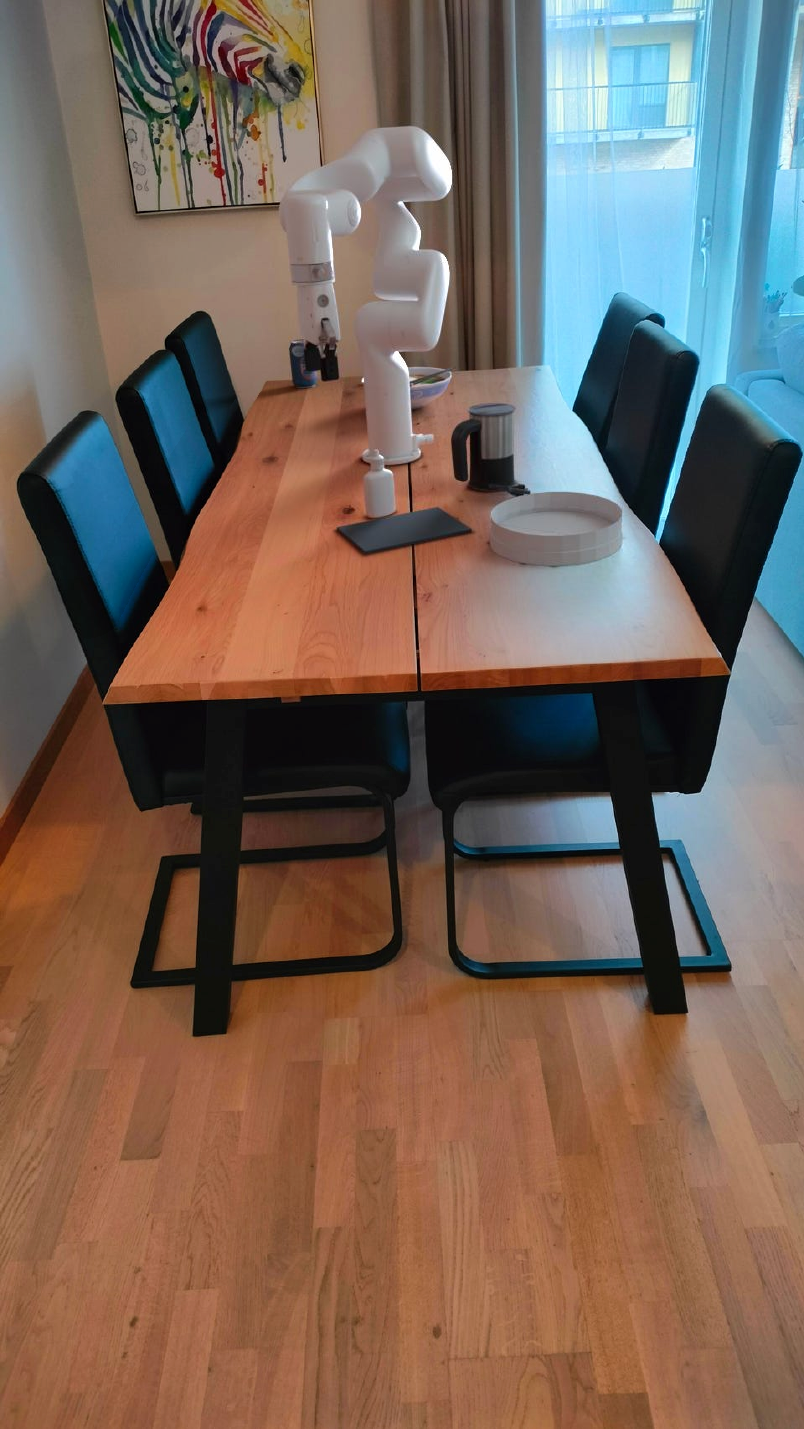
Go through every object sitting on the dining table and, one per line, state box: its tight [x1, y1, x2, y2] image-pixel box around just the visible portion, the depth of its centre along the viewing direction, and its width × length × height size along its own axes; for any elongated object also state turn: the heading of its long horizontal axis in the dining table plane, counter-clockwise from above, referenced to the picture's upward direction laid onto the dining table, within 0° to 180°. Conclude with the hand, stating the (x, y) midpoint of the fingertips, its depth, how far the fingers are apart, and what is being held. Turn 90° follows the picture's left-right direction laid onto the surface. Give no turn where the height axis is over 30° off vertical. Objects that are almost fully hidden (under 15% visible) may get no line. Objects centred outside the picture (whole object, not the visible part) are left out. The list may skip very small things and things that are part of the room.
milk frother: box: [450, 402, 531, 497], centre depth 195 cm, size 14×16×15 cm
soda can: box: [288, 338, 318, 389], centre depth 285 cm, size 7×7×12 cm
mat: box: [336, 506, 473, 556], centre depth 182 cm, size 20×14×1 cm
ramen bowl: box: [360, 366, 457, 411], centre depth 258 cm, size 25×23×8 cm
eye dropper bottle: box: [363, 450, 396, 519], centre depth 188 cm, size 4×6×12 cm
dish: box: [489, 491, 624, 567], centre depth 172 cm, size 22×22×5 cm
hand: (322, 375), depth 187 cm, fingers open, 9 cm apart
